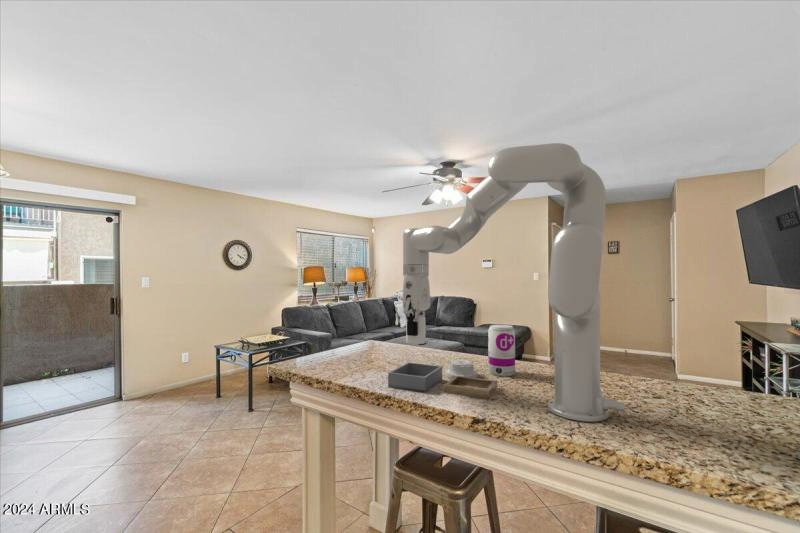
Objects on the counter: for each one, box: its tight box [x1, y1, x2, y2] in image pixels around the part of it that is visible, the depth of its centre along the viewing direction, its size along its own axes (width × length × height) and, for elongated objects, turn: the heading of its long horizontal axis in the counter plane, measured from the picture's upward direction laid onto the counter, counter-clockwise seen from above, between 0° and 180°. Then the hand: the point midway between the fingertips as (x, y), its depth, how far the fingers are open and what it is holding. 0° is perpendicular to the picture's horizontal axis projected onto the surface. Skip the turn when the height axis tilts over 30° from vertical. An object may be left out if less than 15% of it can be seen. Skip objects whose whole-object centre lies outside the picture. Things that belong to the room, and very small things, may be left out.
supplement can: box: [487, 324, 516, 377], centre depth 116 cm, size 8×8×15 cm
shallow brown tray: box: [443, 376, 498, 400], centre depth 99 cm, size 12×10×2 cm
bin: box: [387, 362, 443, 393], centre depth 105 cm, size 11×13×4 cm
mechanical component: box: [444, 359, 478, 379], centre depth 113 cm, size 10×4×10 cm
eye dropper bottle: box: [405, 309, 427, 345], centre depth 105 cm, size 4×6×12 cm
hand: (415, 333), depth 105 cm, fingers closed on eye dropper bottle, 4 cm apart
